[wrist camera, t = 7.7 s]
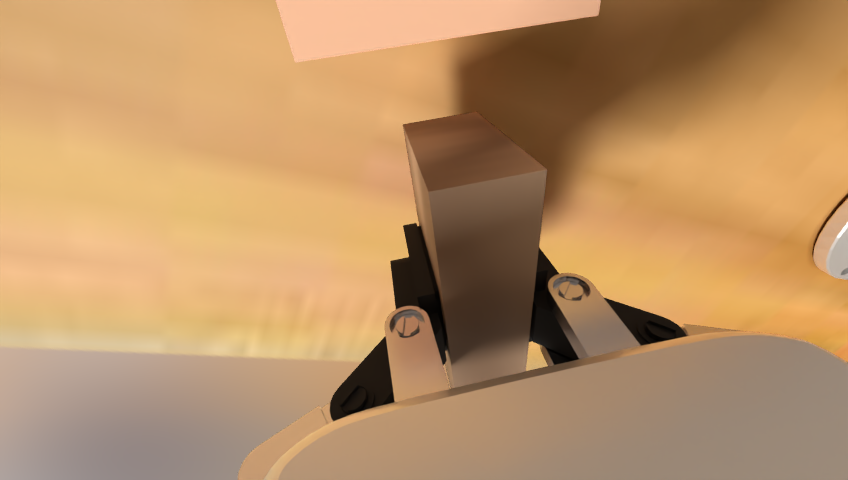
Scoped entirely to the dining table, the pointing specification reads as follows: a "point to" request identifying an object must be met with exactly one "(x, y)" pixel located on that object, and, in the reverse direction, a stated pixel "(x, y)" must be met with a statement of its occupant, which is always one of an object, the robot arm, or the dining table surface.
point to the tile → (410, 21)
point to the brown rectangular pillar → (478, 239)
